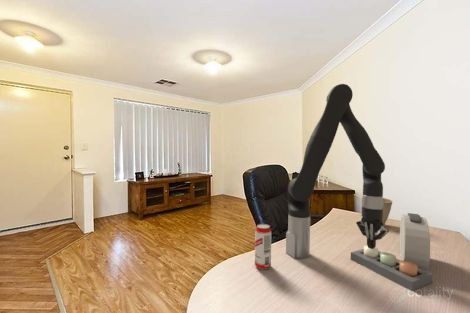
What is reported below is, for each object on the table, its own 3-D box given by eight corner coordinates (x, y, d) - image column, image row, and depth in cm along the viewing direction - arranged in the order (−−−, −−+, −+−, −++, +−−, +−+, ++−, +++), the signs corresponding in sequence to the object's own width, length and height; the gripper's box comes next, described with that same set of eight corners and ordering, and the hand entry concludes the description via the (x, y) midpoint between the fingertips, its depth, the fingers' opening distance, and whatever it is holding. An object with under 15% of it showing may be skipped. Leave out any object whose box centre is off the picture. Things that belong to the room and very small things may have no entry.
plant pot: (359, 224, 139) (360, 199, 139) (367, 219, 150) (368, 195, 149) (387, 231, 128) (388, 203, 128) (394, 225, 139) (395, 199, 138)
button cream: (372, 262, 90) (372, 251, 90) (360, 257, 95) (361, 246, 94) (380, 260, 92) (380, 249, 92) (368, 254, 97) (369, 244, 97)
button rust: (411, 281, 77) (412, 268, 77) (396, 274, 82) (396, 261, 82) (420, 278, 79) (420, 265, 79) (404, 271, 84) (405, 259, 84)
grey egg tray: (411, 291, 74) (412, 282, 74) (350, 259, 95) (350, 252, 95) (432, 282, 79) (432, 274, 79) (369, 254, 100) (369, 247, 100)
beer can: (260, 272, 85) (261, 229, 84) (251, 264, 90) (252, 224, 90) (274, 268, 87) (274, 227, 87) (264, 260, 93) (265, 222, 92)
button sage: (390, 271, 84) (390, 259, 84) (377, 265, 88) (377, 253, 88) (398, 268, 86) (399, 257, 86) (385, 262, 90) (385, 251, 90)
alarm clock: (429, 276, 83) (431, 223, 82) (403, 270, 86) (405, 219, 86) (419, 254, 101) (421, 210, 100) (399, 250, 105) (400, 207, 104)
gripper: (351, 203, 97) (350, 243, 98) (382, 211, 85) (381, 256, 86) (363, 201, 100) (362, 240, 101) (395, 209, 88) (393, 253, 89)
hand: (371, 247), depth 93 cm, fingers closed
